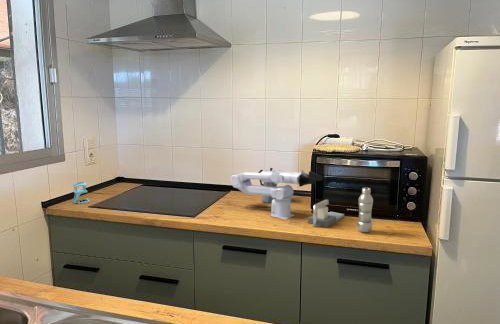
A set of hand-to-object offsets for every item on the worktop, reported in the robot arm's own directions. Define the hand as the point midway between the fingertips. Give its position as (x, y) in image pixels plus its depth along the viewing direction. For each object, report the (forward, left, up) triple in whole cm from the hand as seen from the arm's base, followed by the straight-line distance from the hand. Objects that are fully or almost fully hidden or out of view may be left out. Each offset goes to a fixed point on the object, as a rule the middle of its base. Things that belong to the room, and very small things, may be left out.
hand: (318, 179), depth 178 cm
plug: (+1, +2, -22) cm, 22 cm away
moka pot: (-41, +19, -22) cm, 50 cm away
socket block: (+1, +2, -22) cm, 22 cm away
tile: (+1, +13, -22) cm, 25 cm away
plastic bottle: (+22, +3, -22) cm, 31 cm away
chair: (-127, -48, -22) cm, 138 cm away
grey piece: (+1, 0, -21) cm, 21 cm away
